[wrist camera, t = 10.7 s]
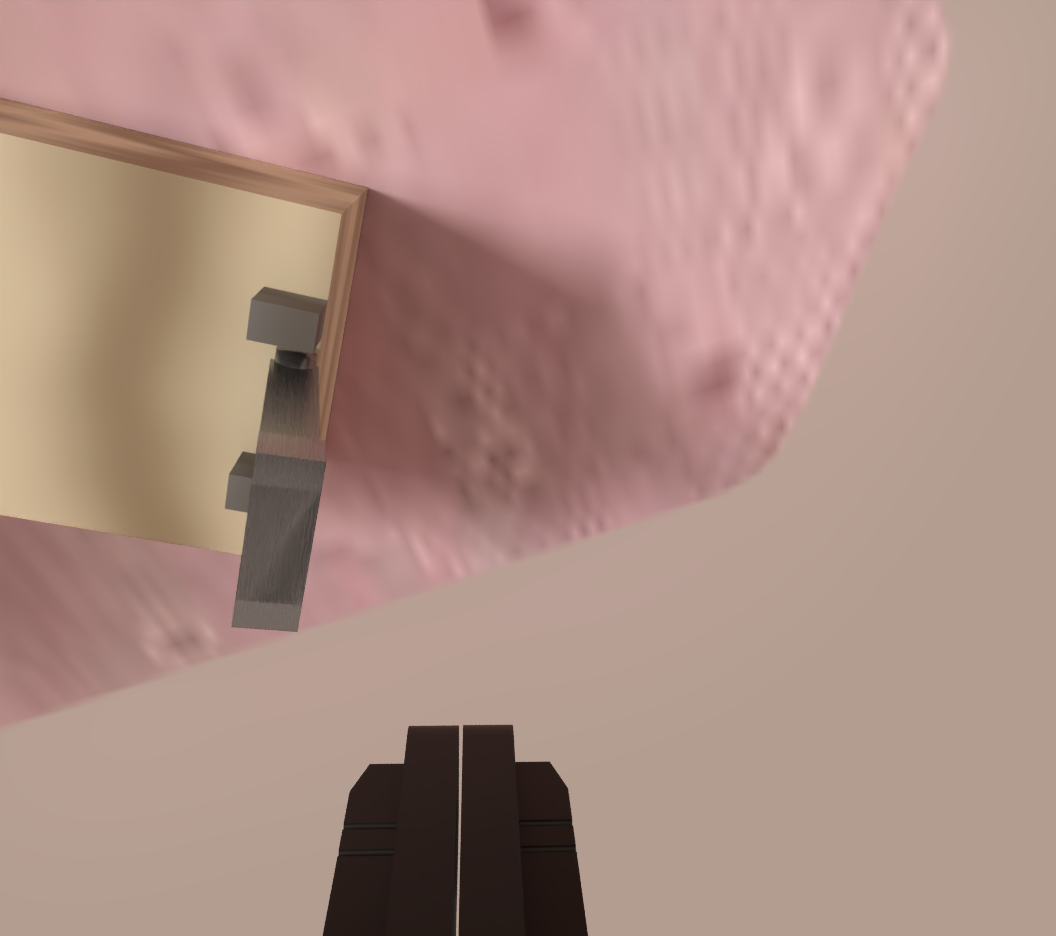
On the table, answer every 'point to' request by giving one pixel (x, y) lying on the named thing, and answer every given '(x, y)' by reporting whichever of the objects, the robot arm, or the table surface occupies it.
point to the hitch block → (154, 321)
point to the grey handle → (282, 497)
